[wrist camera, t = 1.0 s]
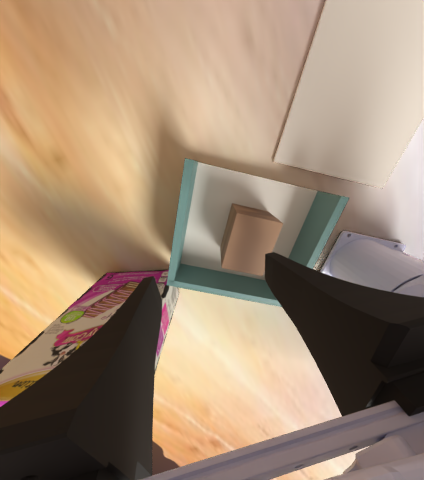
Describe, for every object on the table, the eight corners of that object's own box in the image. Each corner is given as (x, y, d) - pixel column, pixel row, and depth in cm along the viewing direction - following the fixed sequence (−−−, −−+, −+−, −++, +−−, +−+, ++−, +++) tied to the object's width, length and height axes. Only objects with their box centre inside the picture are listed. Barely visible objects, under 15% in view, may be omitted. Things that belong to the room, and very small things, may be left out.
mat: (483, 7, 16) (489, 3, 15) (379, 188, 21) (382, 188, 21) (339, -42, 15) (342, -48, 14) (272, 161, 21) (274, 161, 20)
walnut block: (268, 211, 21) (283, 223, 16) (252, 254, 23) (262, 276, 18) (231, 203, 20) (237, 213, 16) (220, 247, 23) (221, 267, 18)
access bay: (314, 190, 22) (349, 197, 16) (276, 279, 27) (292, 308, 21) (193, 161, 21) (185, 158, 15) (176, 260, 26) (166, 285, 20)
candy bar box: (175, 266, 26) (122, 400, 11) (180, 293, 28) (139, 438, 13) (104, 270, 27) (-42, 403, 12) (113, 296, 29) (-2, 440, 13)
